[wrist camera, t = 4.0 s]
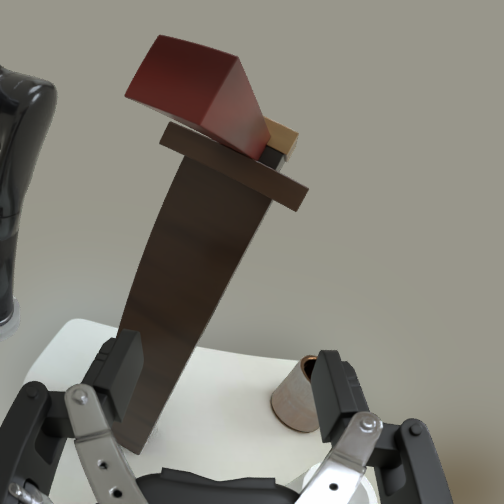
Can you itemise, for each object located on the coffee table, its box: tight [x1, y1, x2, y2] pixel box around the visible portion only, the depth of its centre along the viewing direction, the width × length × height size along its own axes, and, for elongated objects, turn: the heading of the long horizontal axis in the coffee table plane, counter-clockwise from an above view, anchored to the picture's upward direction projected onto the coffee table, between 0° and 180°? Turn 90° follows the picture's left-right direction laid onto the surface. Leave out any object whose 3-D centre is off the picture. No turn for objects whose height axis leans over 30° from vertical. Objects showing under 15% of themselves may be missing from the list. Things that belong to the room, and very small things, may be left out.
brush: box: [125, 35, 298, 172], centre depth 14 cm, size 19×5×3 cm, turn 172°
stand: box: [111, 122, 309, 455], centre depth 23 cm, size 8×9×33 cm
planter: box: [272, 355, 319, 432], centre depth 44 cm, size 11×11×10 cm
